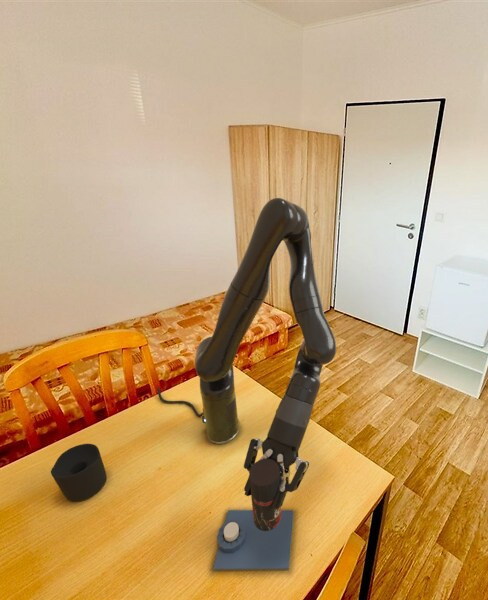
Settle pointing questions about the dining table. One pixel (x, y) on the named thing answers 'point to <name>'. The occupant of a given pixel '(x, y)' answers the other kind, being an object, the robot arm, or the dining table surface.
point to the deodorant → (265, 493)
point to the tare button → (231, 531)
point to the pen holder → (79, 472)
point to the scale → (254, 544)
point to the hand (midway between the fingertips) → (260, 501)
